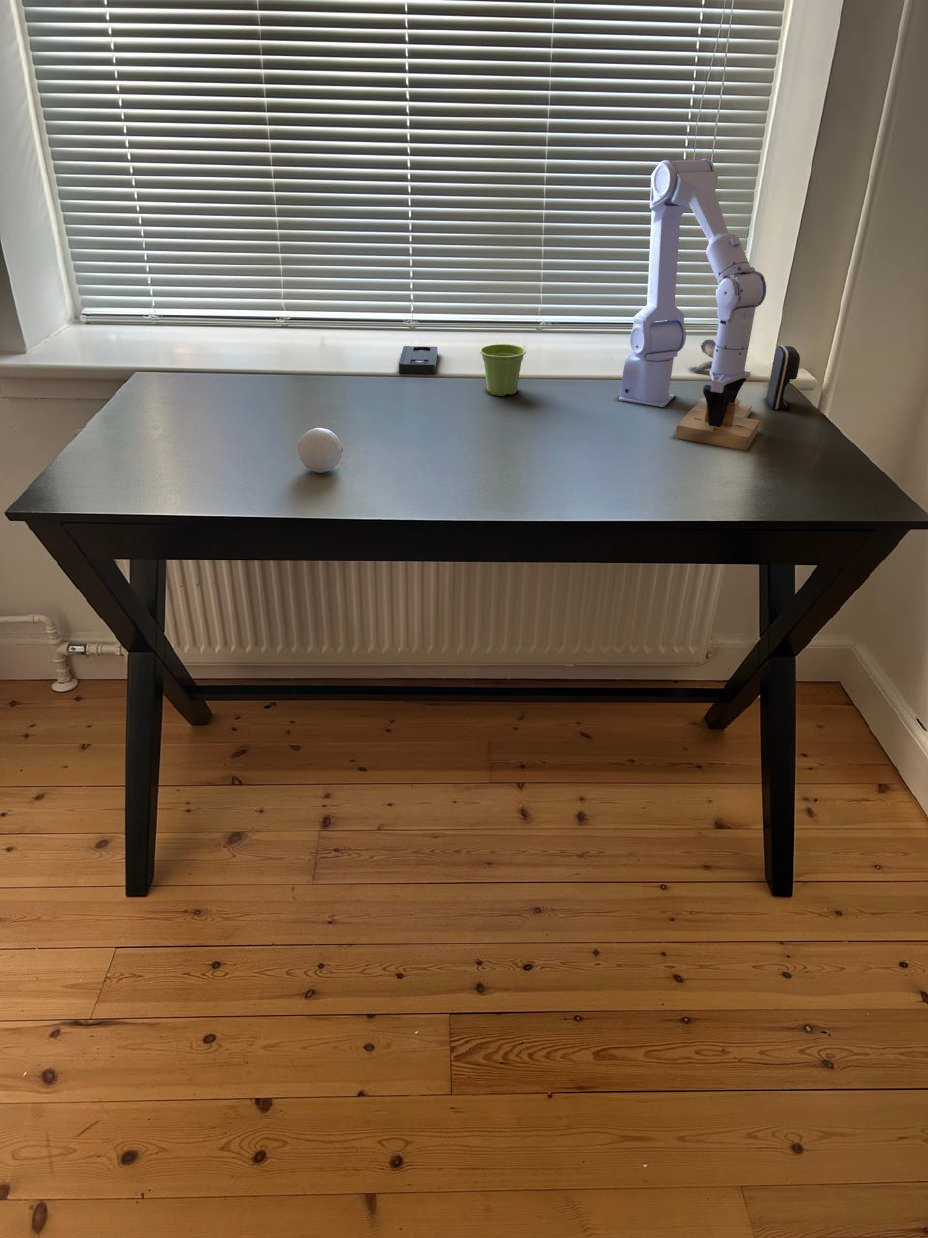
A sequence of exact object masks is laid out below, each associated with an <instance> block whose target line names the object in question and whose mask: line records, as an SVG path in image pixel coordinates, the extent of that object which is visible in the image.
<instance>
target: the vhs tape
mask: <svg viewBox="0 0 928 1238" xmlns="http://www.w3.org/2000/svg"><path fill="white" fill-rule="evenodd" d="M437 361H438V346H414V345H412V346H411V345H403V347H402V350H401V354H400V358H399V362H398V373H399V374H435V373H436V368H437Z"/></svg>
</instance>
